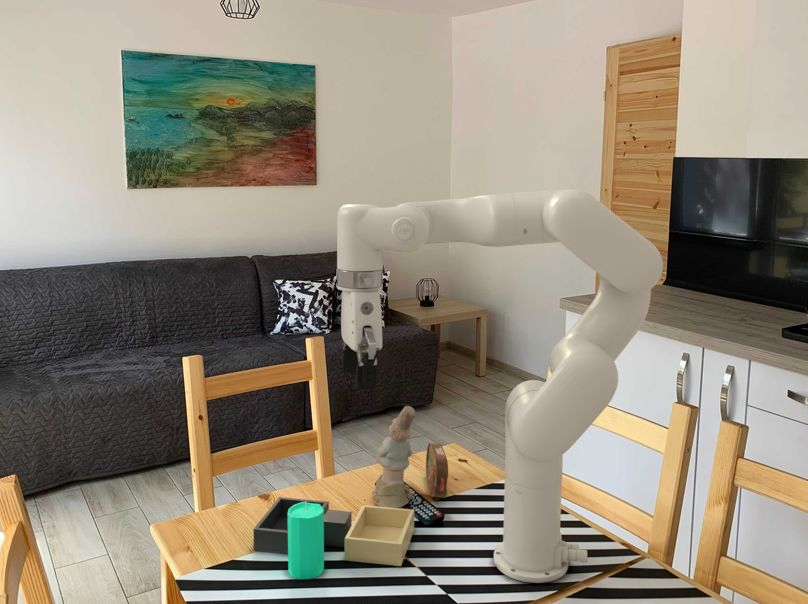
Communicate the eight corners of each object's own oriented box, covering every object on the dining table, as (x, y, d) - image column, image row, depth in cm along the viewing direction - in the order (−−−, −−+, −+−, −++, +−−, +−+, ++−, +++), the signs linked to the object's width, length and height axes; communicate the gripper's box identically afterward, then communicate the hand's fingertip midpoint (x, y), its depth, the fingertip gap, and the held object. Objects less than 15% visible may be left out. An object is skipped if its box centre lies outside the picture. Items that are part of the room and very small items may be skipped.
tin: (424, 473, 157) (425, 436, 156) (439, 472, 157) (439, 436, 156) (433, 505, 142) (434, 465, 141) (449, 504, 142) (450, 464, 141)
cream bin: (414, 529, 132) (414, 509, 132) (401, 566, 120) (401, 544, 120) (362, 524, 134) (362, 504, 134) (344, 560, 122) (344, 538, 122)
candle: (317, 581, 116) (316, 511, 114) (282, 577, 117) (281, 507, 115) (329, 561, 122) (328, 494, 120) (296, 557, 123) (295, 491, 121)
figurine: (420, 506, 142) (421, 409, 139) (380, 513, 138) (380, 414, 136) (403, 487, 150) (404, 395, 147) (365, 494, 147) (365, 400, 144)
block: (351, 534, 130) (351, 511, 130) (344, 547, 126) (344, 523, 126) (328, 532, 131) (327, 509, 131) (320, 545, 127) (320, 521, 126)
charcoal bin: (328, 521, 135) (328, 501, 135) (307, 556, 123) (307, 534, 123) (279, 516, 137) (279, 496, 136) (253, 550, 125) (253, 529, 124)
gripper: (397, 287, 110) (395, 394, 112) (368, 271, 127) (367, 364, 129) (350, 289, 108) (349, 398, 110) (326, 272, 124) (326, 367, 126)
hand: (358, 380), depth 119 cm, fingers open, 9 cm apart
